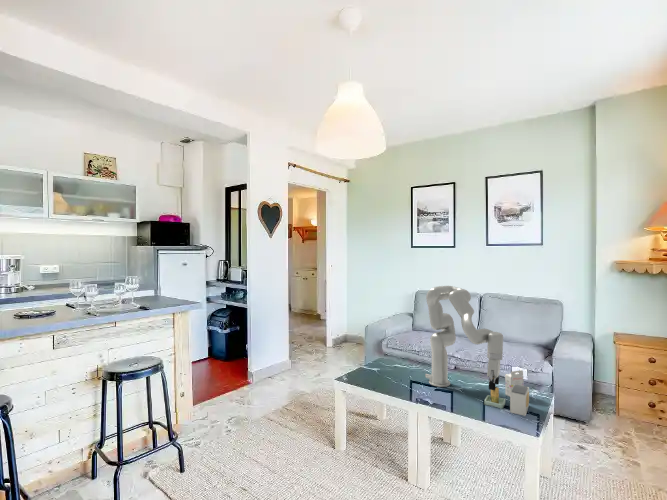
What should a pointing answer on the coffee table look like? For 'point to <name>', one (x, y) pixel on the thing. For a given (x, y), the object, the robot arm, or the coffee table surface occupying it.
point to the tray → (489, 403)
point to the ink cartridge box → (513, 380)
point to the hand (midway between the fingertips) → (493, 386)
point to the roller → (495, 395)
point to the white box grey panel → (519, 399)
